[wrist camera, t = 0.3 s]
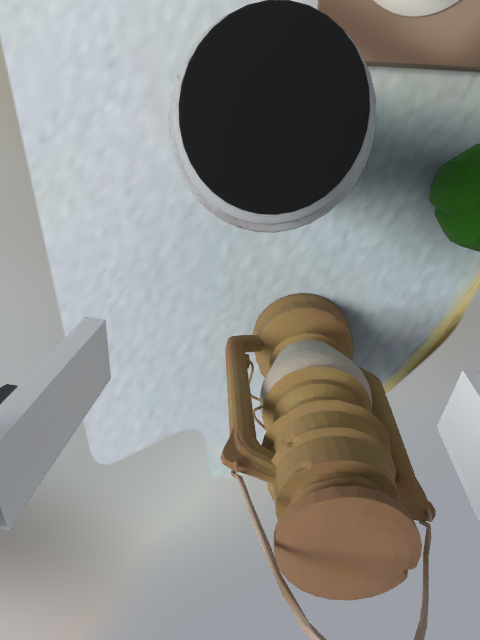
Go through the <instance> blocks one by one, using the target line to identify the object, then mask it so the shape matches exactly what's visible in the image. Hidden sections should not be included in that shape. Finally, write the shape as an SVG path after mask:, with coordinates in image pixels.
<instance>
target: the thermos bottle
mask: <svg viewBox="0 0 480 640" xmlns="http://www.w3.org/2000/svg"><path fill="white" fill-rule="evenodd" d="M375 126H376V97H375V92H374V88H373V83H372V79H371V74H370V72H369V70H368V67H367V65H366V63H365V61H364V58H363V56H362V54H361V52H360V50H359V49H358V48H357V46H356V45H355V44H354V42H353V41H352V39H351V38H350V37H349V35H348V34H347V33H346V32H345V31H344V30H343V29H342V28H341V27H340V26H339V25H338V24H337V23H336V22H334V21H333V20H332V19H331V18H330V17H329V16H328V15H326V14H324V13H322V12H320V11H319V10H317V9H315V8H313V7H311V6H309V5H306V4H302V3H298V2H294V1H290V0H266V1H262V2H258V3H253V4H249V5H247V6H245V7H242V8H240V9H238V10H236V11H234V12H232V13H230V14H228V15H226V16H224V17H223V18H221V19H220V20H219V21H218V22H216V23H215V24H214V25H213V26H211V27H210V28H209V29H208V30H206V31H205V32H204V33H203V35H202V36H201V37H200V38H199V39H198V41H197V42H196V43H195V44H194V45H193V47H192V48H191V49H190V51H189V53H188V54H187V56H186V58H185V60H184V62H183V64H182V65H181V67H180V69H179V71H178V75H177V78H176V81H175V84H174V87H173V90H172V94H171V101H170V109H169V137H170V142H171V146H172V151H173V156H174V159H175V162H176V164H177V166H178V169H179V171H180V174H181V176H182V178H183V180H184V181H185V183H186V184H187V186H188V188H189V189H190V191H191V192H192V194H193V195H194V196H195V197H196V198H197V199H198V200H199V202H200V203H201V204H202V205H203V206H204V207H205V208H206V209H207V210H209V211H210V212H212V213H213V214H214V215H216V216H217V217H218V218H220V219H221V220H223V221H225V222H228V223H230V224H232V225H234V226H236V227H238V228H243V229H247V230H251V231H255V232H281V231H287V230H293V229H296V228H298V227H301V226H304V225H307V224H309V223H312V222H313V221H315V220H317V219H318V218H320V217H322V216H323V215H325V214H327V213H328V212H329V211H330V210H331V209H333V208H334V207H335V206H336V205H337V204H338V203H339V202H340V201H342V200H343V199H344V197H345V196H346V195H347V193H348V192H349V191H350V190H351V188H352V187H353V186H354V185H355V183H356V182H357V180H358V178H359V176H360V174H361V172H362V170H363V169H364V167H365V165H366V163H367V159H368V156H369V153H370V150H371V147H372V144H373V140H374V133H375Z"/></svg>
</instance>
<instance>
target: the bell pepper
mask: <svg viewBox="0 0 480 640" xmlns="http://www.w3.org/2000/svg"><path fill="white" fill-rule="evenodd" d="M430 202H431V203H432V204H433V205H434V206H436V210H435V216H436V218H437V220H438V222H439V224H440V226H441V228H442V229H443V231H444V233H445V234H446V236H447V237H448V238H449V240H450V241H452V242H454V243H456V244H458V245H460V246H462V247H466V248H469V249H472V250H475V251H480V144H477V145H475V146H473V147H471V148H469V149H467V150H466V151H464V152H463V153H461V154H460V155H458V156H457V157H455V158H453V159H452V160H450V161H449V162H447V163H446V164H444V165H443V166H442V167H441V168H440V170H439V172H438V174H437V176H436V178H435V180H434V182H433V183H432V185H431V192H430Z"/></svg>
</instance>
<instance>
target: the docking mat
mask: <svg viewBox="0 0 480 640" xmlns="http://www.w3.org/2000/svg"><path fill="white" fill-rule="evenodd" d="M317 10H319V11H320V12H322V13H324V14H326V15H328V16H329V17H330V18H331V19H332V20H333V21H334V22H336V23H337V24H338V25H339V26H340V27H341V28H342V29H343V30H344V31H345V32H346V33H347V34H348V35H349V37H350V38H351V39H352V41H353V42H354V44H355V45H356V46H357V48H358V49H359V50H360V52H361V54H362V56H363V58H364V61H365V63H366V65H369V66H387V67H406V68H425V69H443V70H462V71H480V0H318V9H317Z"/></svg>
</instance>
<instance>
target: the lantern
mask: <svg viewBox="0 0 480 640" xmlns="http://www.w3.org/2000/svg"><path fill="white" fill-rule="evenodd" d="M225 352H226V370H227V388H228V406H229V425H230V436H229V440H228V441H227V443H226V445H225V447H224V450H223V452H222V455H221V460H222V463H223V464H224V465H226V466H227V467H229V468H231V469H232V471H231V475H232V476H233V477H235V478H237V479H238V481H239V484H240V486H241V489H242V491H243V495H244V498H245V501H246V504H247V507H248V510H249V513H250V517H251V520H252V522H253V525H254V528H255V530H256V533H257V536H258V538H259V541H260V543H261V546H262V549H263V551H264V554H265V556H266V559H267V561H268V563H269V565H270V568H271V570H272V572H273V575H274V577H275V579H276V581H277V584H278V586H279V588H280V590H281V593H282V595H283V596H284V598H285V600H286V602H287V603H288V605H289V607H290V609H291V610H292V612H293V614H294V615H295V617H296V619H297V621H298V622H299V624H300V626H301V627H302V629H303V631H304V632H305V633H306V634H307V635H308V637H309V638H310V639H311V640H326V639H325V638H324V637H323V636H322V635H321V634H320V633H319V632H318V631H317V630H316V629H315V628H314V627H313V626H312V625H311V624H310V623H309V622H308V620H307V619H306V617H305V615H304V613H303V612H302V610H301V608H300V606H299V605H298V603H297V601H296V599H295V598H294V596H293V594H292V593H291V591H290V589H289V587H288V586H287V584H286V582H285V580H284V579H283V577H282V575H281V574H280V572H281V573H282V574H283V575H284V576H285V577H286V578H287V580H288V581H289V582H290V583H292V584H293V585H295V586H296V587H298V588H299V589H300V590H302V591H305V592H307V593H310V594H312V595H314V596H317V597H322V598H326V599H331V600H356V599H363V598H370V597H373V596H376V595H379V594H381V593H384V592H387V591H389V590H391V589H393V588H394V587H396V586H397V585H399V584H400V583H402V582H403V581H404V580H405V579H406V578H407V572H408V570H410V569H414V568H415V567H416V566H417V564H418V561H419V559H420V556H421V548H422V544H421V538H420V534H419V532H418V529H417V527H416V525H415V522H414V521H413V520H418V521H419V523H420V524H422V525H424V526H425V527H427V529H426V537H425V546H424V553H423V597H422V598H423V599H422V608H421V615H420V621H419V624H418V628H417V631H416V635H415V638H414V640H424V637H425V633H426V629H427V615H428V555H429V549H430V542H431V526H430V524H429V523H427V522H425V521H429V522H432V520H433V519H434V517H435V509H434V507H433V505H432V504H431V502H429V501H428V500H427V498H426V495H425V493H424V491H423V489H422V488H421V486H420V484H419V482H418V481H417V479H416V477H415V474H414V471H413V469H412V466H411V463H410V460H409V458H408V455H407V452H406V449H405V447H404V444H403V441H402V438H401V436H400V433H399V430H398V428H397V424H396V422H395V419H394V416H393V413H392V410H391V408H390V406H389V402H388V400H387V397H386V395H385V391H384V388H383V386H382V383H381V381H380V380H379V379H378V378H377V377H376V376H374V375H373V374H371V373H369V372H368V371H366V370H364V369H362V368H360V367H359V366H357V365H356V364H355V363H354V362H353V361H352V358H353V341H352V338H351V335H350V329H349V324H348V322H347V320H346V318H345V316H344V314H343V313H342V312H341V310H340V309H339V308H338V307H337V306H335V305H334V304H333V303H331V302H330V301H328V300H327V299H324V298H322V297H319V296H317V295H313V294H302V293H299V294H293V295H288V296H286V297H283V298H280V299H278V300H277V301H275V302H273V303H272V304H270V305H269V306H268V307H267V308H266V309H265V310H264V311H263V312H262V314H261V315H260V317H259V318H258V320H257V322H256V325H255V328H254V332H253V335H241V336H232V337H230V338H229V339H228V341H227V345H226V350H225ZM245 352H255V355H256V361H257V363H258V365H259V368H260V371H261V373H262V375H263V376H264V377H265V379H264V382H263V384H262V388H261V394H260V399H259V398H257V397H255V396H253V395H251V394H250V387H249V384H250V381H251V378H252V374H253V371H254V366H253V363H252V362H251V361H250V359H249V355H248V354H245ZM250 364H251V366H252V370H251V374H250V378H249V379H248V372H247V368H249V365H250ZM251 397H252V398H254V399H256V400H258V401H260V406H259V407H257V408H255V409H254V410H252V402H251ZM258 409H261V412H262V418H263V422H264V425H263V424H262V423H261V422H260V421H259V420H258V419H257V418H256V416H255V411H256V410H258ZM254 419H255V420H256V421H257V422H258V423H259V424H260V425H261V426H262V427H263V428H264V429H265V430H266V431H267V432H266V434H265V435H264V439H263V443H262V445H260V444H259V442H258V441H257V439H256V432H255V425H254ZM235 472H237V473H238V472H241V473H244V474H247V475H250V476H253V477H256V478H258V479H261V480H263V481H266V482H267V483H268V489H269V491H270V494H271V496H272V499H273V500H274V502H275V508H276V515H277V518H278V522H277V525H276V528H275V532H274V554H275V557H274V555H273V552H272V549H271V547H270V544H269V542H268V540H267V537H266V535H265V533H264V530H263V528H262V526H261V523H260V521H259V519H258V516H257V514H256V512H255V510H254V507H253V505H252V502H251V499H250V496H249V494H248V491H247V488H246V486H245V483H244V481H243V478H242V477H241V476H240V475H238V474H236V473H235ZM277 565H278V566H277ZM279 570H280V571H279Z"/></svg>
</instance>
